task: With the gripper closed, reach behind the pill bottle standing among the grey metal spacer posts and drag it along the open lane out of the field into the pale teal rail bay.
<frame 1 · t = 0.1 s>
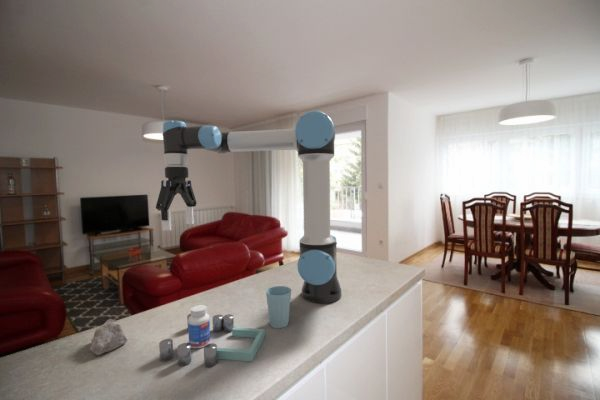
hand: (179, 226, 99), 28 cm above the kitchen counter, fingers open, 13 cm apart
cup: (279, 324, 85), on the kitchen counter
teal bay: (239, 346, 74), on the kitchen counter
pill bottle: (199, 344, 76), on the kitchen counter
stone: (110, 346, 76), on the kitchen counter
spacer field: (199, 343, 76), on the kitchen counter
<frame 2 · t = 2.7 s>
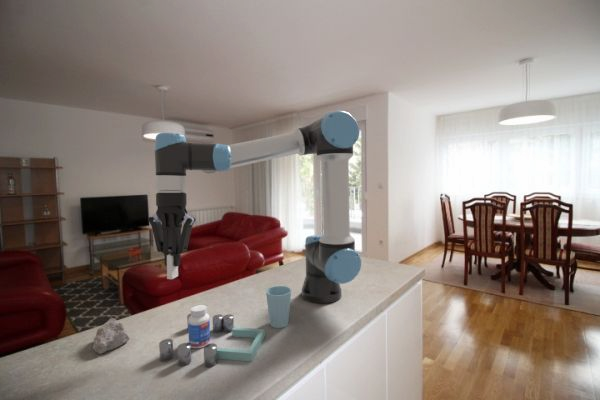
hand: (172, 277, 77), 17 cm above the kitchen counter, fingers closed
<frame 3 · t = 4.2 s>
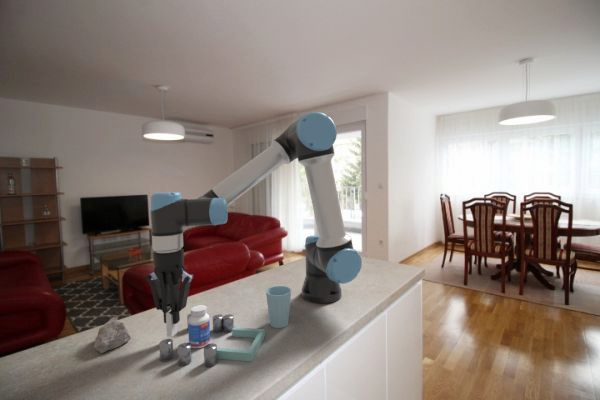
hand: (172, 334, 77), 2 cm above the kitchen counter, fingers closed
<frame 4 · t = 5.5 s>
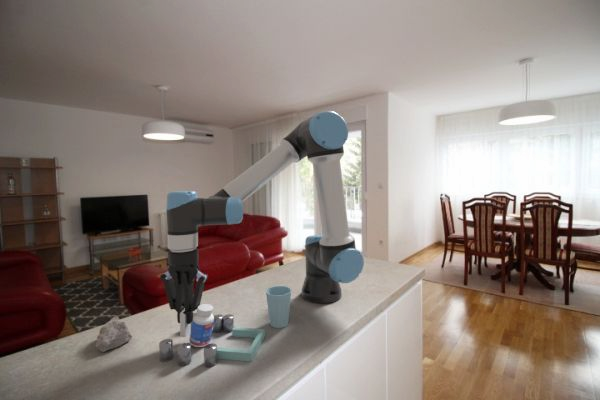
hand: (185, 334, 76), 2 cm above the kitchen counter, fingers closed
pill bottle: (199, 342, 76), on the kitchen counter, touching gripper
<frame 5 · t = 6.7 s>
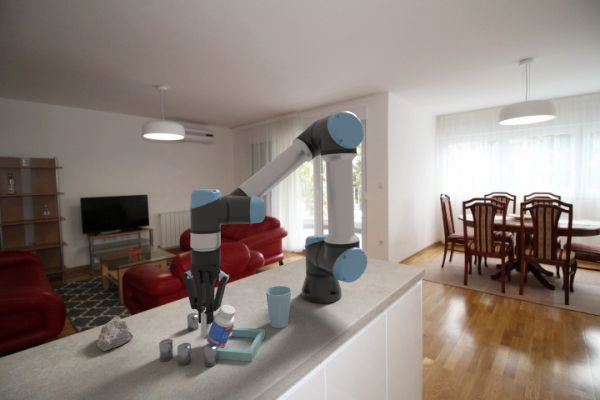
hand: (205, 334, 75), 3 cm above the kitchen counter, fingers closed
pill bottle: (216, 341, 75), point 1 cm above the kitchen counter, touching gripper
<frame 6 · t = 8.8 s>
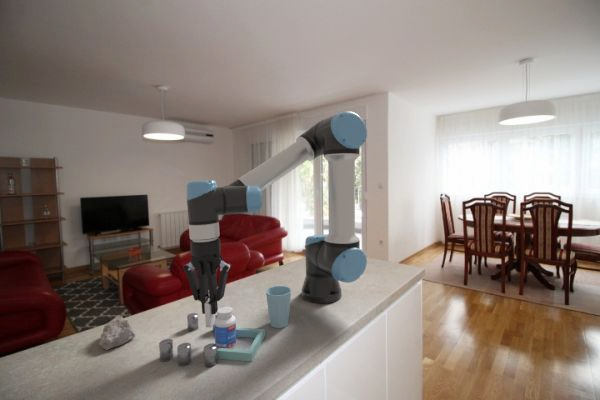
hand: (210, 324, 76), 5 cm above the kitchen counter, fingers closed
pill bottle: (225, 346, 74), on the kitchen counter
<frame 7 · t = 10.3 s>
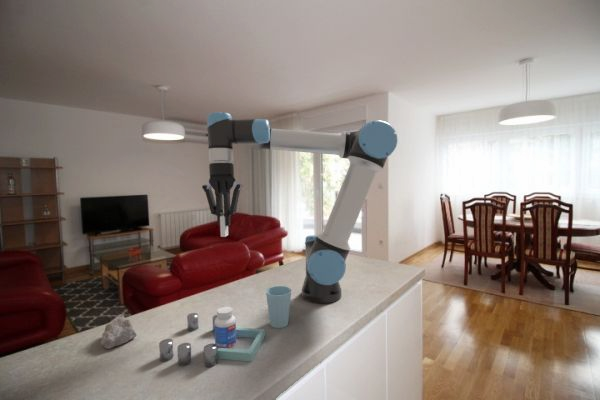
hand: (224, 235, 91), 26 cm above the kitchen counter, fingers closed
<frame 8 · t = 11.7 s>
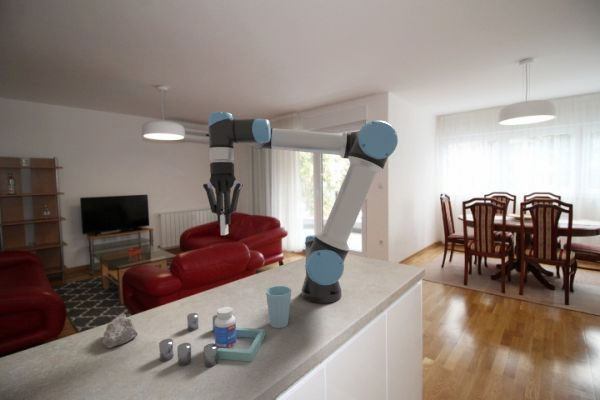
hand: (224, 234, 92), 26 cm above the kitchen counter, fingers closed
at the end: pill bottle inside the target area (3.4 cm from its centre), on the kitchen counter; pill bottle tilted 0°; pill bottle moved 7.6 cm from its start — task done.
